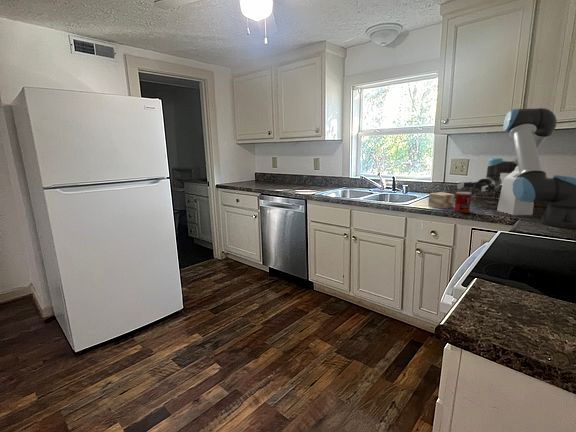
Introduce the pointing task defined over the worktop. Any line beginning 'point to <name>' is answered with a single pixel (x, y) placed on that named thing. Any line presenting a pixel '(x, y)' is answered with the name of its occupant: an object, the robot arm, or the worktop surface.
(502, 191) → the milk
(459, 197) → the canned food
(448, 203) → the maple brick
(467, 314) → the worktop surface
